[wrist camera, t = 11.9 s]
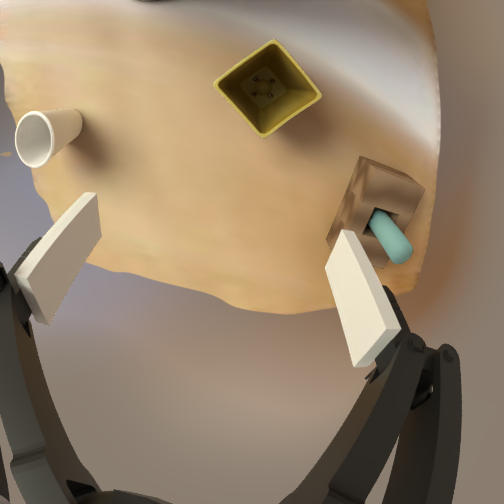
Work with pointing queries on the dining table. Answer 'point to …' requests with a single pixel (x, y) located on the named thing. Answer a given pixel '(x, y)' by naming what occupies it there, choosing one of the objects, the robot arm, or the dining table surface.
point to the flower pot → (267, 88)
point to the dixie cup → (46, 134)
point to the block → (375, 205)
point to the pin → (390, 236)
